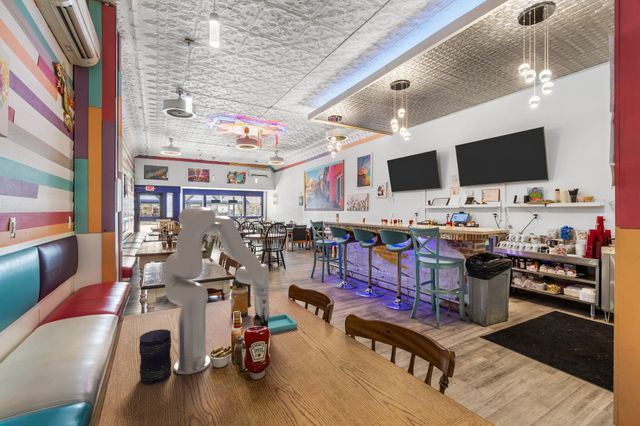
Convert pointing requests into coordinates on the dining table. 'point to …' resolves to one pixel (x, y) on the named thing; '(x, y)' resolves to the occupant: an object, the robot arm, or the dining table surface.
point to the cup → (258, 320)
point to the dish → (281, 323)
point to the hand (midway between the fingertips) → (261, 326)
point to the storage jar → (155, 356)
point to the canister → (240, 298)
